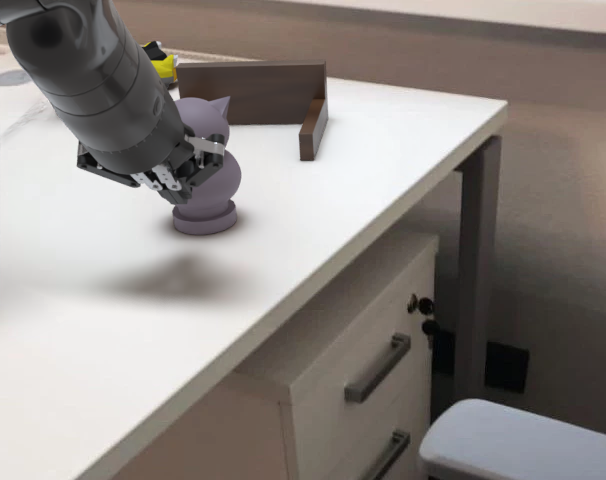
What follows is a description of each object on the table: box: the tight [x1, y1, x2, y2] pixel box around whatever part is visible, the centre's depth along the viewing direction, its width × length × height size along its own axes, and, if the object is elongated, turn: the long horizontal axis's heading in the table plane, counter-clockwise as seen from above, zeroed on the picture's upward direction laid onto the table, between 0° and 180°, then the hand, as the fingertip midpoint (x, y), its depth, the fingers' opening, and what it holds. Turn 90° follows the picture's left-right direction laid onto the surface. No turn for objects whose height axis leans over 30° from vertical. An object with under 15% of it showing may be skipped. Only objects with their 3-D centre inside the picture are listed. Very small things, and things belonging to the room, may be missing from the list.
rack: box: [176, 58, 329, 161], centre depth 104 cm, size 14×18×7 cm
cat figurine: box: [165, 96, 242, 236], centre depth 85 cm, size 8×8×12 cm
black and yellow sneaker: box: [141, 40, 179, 89], centre depth 125 cm, size 15×6×10 cm
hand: (180, 194), depth 80 cm, fingers closed
